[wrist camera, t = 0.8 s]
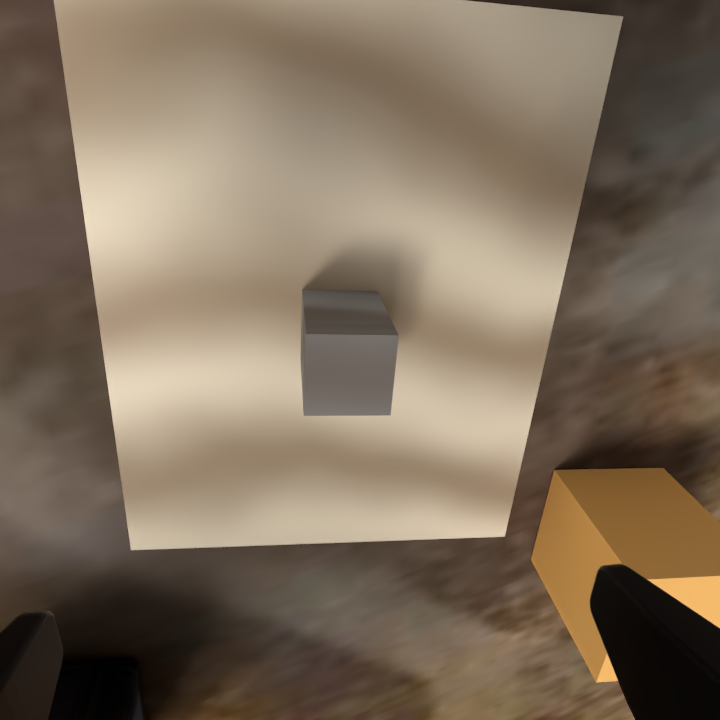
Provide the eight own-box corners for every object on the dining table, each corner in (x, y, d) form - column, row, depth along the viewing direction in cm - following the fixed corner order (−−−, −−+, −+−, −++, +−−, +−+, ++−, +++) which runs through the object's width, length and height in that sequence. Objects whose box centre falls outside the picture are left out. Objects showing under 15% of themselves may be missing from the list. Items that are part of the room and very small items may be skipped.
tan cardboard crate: (631, 555, 28) (720, 672, 22) (530, 559, 27) (596, 682, 22) (663, 467, 26) (771, 573, 20) (554, 469, 25) (633, 580, 19)
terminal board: (495, 518, 26) (541, 610, 21) (138, 529, 24) (101, 635, 19) (602, 21, 17) (718, -7, 13) (64, -33, 15) (-33, -91, 11)
